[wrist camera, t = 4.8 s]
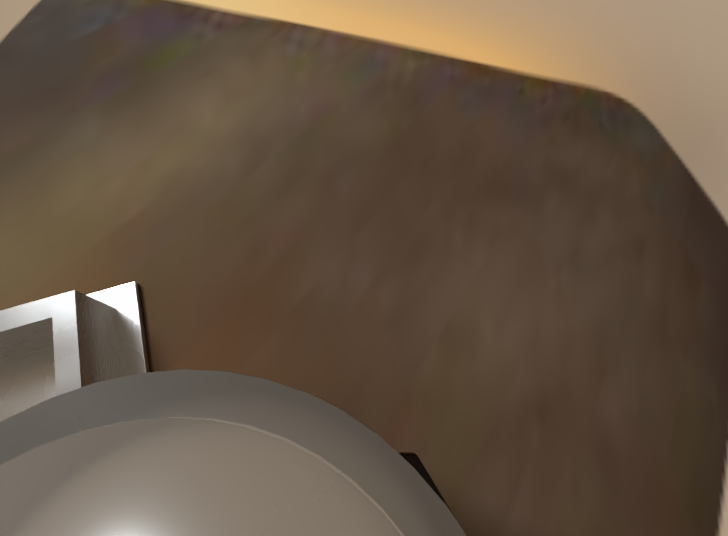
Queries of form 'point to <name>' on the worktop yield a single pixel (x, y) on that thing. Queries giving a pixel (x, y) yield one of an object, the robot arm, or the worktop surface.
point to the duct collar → (69, 345)
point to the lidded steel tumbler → (205, 464)
